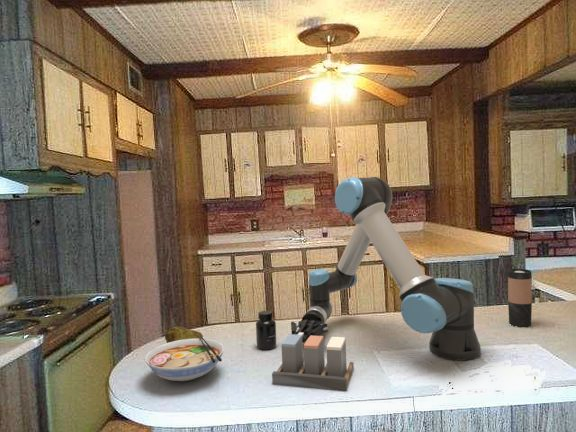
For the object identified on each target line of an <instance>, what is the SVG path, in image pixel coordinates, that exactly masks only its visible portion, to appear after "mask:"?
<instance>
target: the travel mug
mask: <svg viewBox="0 0 576 432" xmlns="http://www.w3.org/2000/svg"><path fill="white" fill-rule="evenodd" d="M532 293H533V291H532V271H531V269H530V270H529V269H526V268H525V269H524V268H510V269H509V270H508V271H507V305H508V307H507V308H508V323H509V325H510V324H511V325H510V326H512V325H513V326H512V327H515V326H517V327H516V328H521V327H526V328H530V327H531V326H532V315H533V314H532V313H533V312H532V310H533V309H532V308H533V307H532V306H533V298H532V296H533V294H532ZM529 326H530V327H529Z"/></svg>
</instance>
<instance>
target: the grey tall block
mask: <svg viewBox="0 0 576 432" xmlns="http://www.w3.org/2000/svg"><path fill="white" fill-rule="evenodd" d="M346 340H347V338H346V337H343V336H342V337H341V336H331V338H330V339H329V341H328V343H327V345H326V364H327V373H328V376H336V377H345V374H346V371H347V369H348V367H347V366H348V365H347V344H346V342H347V341H346Z"/></svg>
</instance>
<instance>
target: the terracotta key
mask: <svg viewBox="0 0 576 432" xmlns="http://www.w3.org/2000/svg"><path fill="white" fill-rule="evenodd" d="M303 365H304V367H305V374H312V375H321V374H322V372H323V370H324V368H325V366H326V363H325V339H324V335H320V336H312V335H310V337H309V338H308V339H307V341H306V342H305V343H303Z"/></svg>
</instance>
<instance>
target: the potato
mask: <svg viewBox="0 0 576 432" xmlns="http://www.w3.org/2000/svg"><path fill="white" fill-rule="evenodd" d="M199 334H200V335H201V336H202V338H203V339H204V336H203V334H202V333H201V332H200V331H198V330H194V329H193V330H192V329H187V328H184V326H183V327H182V326H172V327H171V328H169V329H167V330H166V332H165V334H164V339H165V341H166V343H169V342H173V341H177V340H184V339H194V338H195V339H200V338H201V336H200V335H199ZM198 335H199V337H200V338H199V337H198ZM202 338H201V339H202Z"/></svg>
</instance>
